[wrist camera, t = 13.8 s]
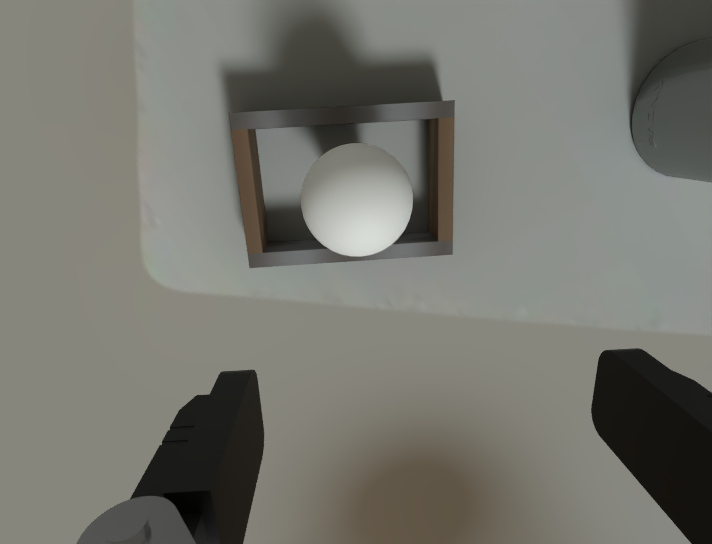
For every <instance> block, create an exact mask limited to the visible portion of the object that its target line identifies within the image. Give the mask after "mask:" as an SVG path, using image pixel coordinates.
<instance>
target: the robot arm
mask: <svg viewBox="0 0 712 544" xmlns="http://www.w3.org/2000/svg"><path fill="white" fill-rule="evenodd" d="M632 133H633V139H634V143H635V146H636V148H637V150H638V153H639V155H640V156H641V157H642V159H643V160H644V161H645V163H646V164H647V165H649V166H650V167H651V168H652V169H654V170H655V171H657V172H659V173H661V174H664V175H666V176H671V177H678V178H685V179H691V180H698V181H705V182H712V38H708V39H704V40H700V41H696V42H692V43H689V44H686V45H684V46H682V47H681V48H679V49H677V50H675V51H673V52H672V53H671V54H669V55H668V56H667V57H665V58H664V59H663V60H661V62H660V63H659V64H658V65H657V66H656V67H655V68H654V69H653V70H652V71H651V73H650V74H649V76H648V77H647V79H646V80H645V82H644V83H643V85H642V87H641V89H640V92H639V94H638V96H637V99H636V101H635V106H634V110H633V115H632ZM591 413H592V419H593V423H594V426H595V429H596V431H597V432H598V434H599V436H600V437H601V438H602V439H603V440H604V442H605V443H606V444H607V445H608V446H609V447H610V449H611V450H612V451H613V452H614V453H615V455H616V456H617V457H618V458H619V459H620V460H621V462H622V463H623V464H624V465H625V466H626V467H627V469H629V471H630V472H631V473H632V474H633V476H634V477H635V478H636V479H637V480H638V481H639V483H640V484H641V485H642V486H643V487H644V488H645V490H646V491H647V492H648V493H649V494H650V495H651V497H652V498H653V499H654V500H655V501H656V502H657V504H658V505H659V506H660V507H661V508H662V510H663V511H664V512H665V513H666V514H667V515H668V517H669V518H670V519H671V520H672V521H673V522H674V524H676V526H677V527H678V528H679V529H680V531H681V532H682V533H683V534H684V535H685V536H686V538H687V539H688V540H689V541H690V542H691V543H692V544H712V393H711V392H710V391H708V390H707V389H705V388H704V387H702V386H701V385H700V384H698V383H697V382H696V381H694V380H692V379H690V378H688V377H685V376H683V375H681V374H679V373H677V372H674V371H672V370H670V369H669V368H667V367H666V366H665V365H663V364H662V363H660V362H659V361H658V360H656V359H655V358H654V357H652V356H651V355H650V354H648V353H647V352H645V351H644V350H642V349H638V348H637V349H618V350H605V351H603V352H602V353H601V355H600V357H599V361H598V367H597V374H596V380H595V387H594V394H593V401H592V408H591ZM263 449H264V427H263V420H262V411H261V403H260V395H259V388H258V380H257V374H256V372H255V370H241V371H224V372H221V373H220V374H219V376H218V378H217V380H216V382H215V385H214V387H213V389H212V391H211V393H210V395H197V396H195V397H194V398H193V399H192V400H191V401H190V402H188V403H187V404H186V405H185V406H184V407H182V409H180V410H179V412H178V414H177V415H176V417H175V419H174V421H173V423H172V424H171V426H170V430H169V431H168V432H167V433H166V435H165V437H164V439H163V441H162V445H160V446H159V448H158V450H157V451H156V453H155V455H154V457H153V459H152V460H151V462H150V464H149V466H148V468H147V469H146V471H145V473H144V475H143V477H142V479H141V480H140V482H139V484H138V486H137V487H136V489H135V491H134V493H133V495H132V497H131V498H130V500H127V501H124V502H122V503H120V504H118V505H116V506H114V507H112V508H110V509H109V510H107V511H106V512H104V513H103V514H101V515H100V516H99V517H98V518H96V519H95V520H94V521H93V522H92V523H91V524H90V525H89V526H88V527H87V528H86V530H85V531H84V532H83V533H82V535H81V537H80V538H79V540H78V542H77V544H243V541H244V537H245V532H246V528H247V523H248V518H249V514H250V510H251V505H252V501H253V496H254V492H255V488H256V483H257V479H258V474H259V470H260V465H261V460H262V456H263Z"/></svg>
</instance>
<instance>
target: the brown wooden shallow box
mask: <svg viewBox="0 0 712 544" xmlns="http://www.w3.org/2000/svg"><path fill="white" fill-rule="evenodd" d="M454 105H455V100H451V101H433V102H415V103H397V104H379V105H361V106H343V107H325V108H307V109H289V110H271V111H253V112H235V113H229V118H230V126H231V133H232V141H233V148H234V156H235V163H236V170H237V178H238V185H239V193H240V200H241V207H242V215H243V222H244V230H245V237H246V245H247V252H248V259H249V267H250V268H257V267H272V266H287V265H302V264H317V263H332V262H347V261H362V260H377V259H392V258H407V257H423V256H438V255H452V251H453V178H454ZM424 119H429V232H419V233H404V234H401V236H400V237H399V238H398V239H397V240H396V241H395V242H394V243H393V244H392V245H390V246H389V247H387V248H386V249H384V250H382V251H380V252H378V253H375V254H373V255H367V256H347V255H341V254H339V253H336V252H334V251H332V250H330V249H328V248H327V247H325V246H324V245H322V244H321V243H320V242H319V241H318V240H317V239H311V240H295V241H280V242H269V241H268V232H267V224H266V215H265V207H264V198H263V190H262V182H261V173H260V165H259V156H258V148H257V139H256V131H255V129H265V128H283V127H301V126H318V125H336V124H354V123H371V122H389V121H407V120H424Z"/></svg>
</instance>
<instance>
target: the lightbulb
mask: <svg viewBox="0 0 712 544" xmlns="http://www.w3.org/2000/svg"><path fill="white" fill-rule="evenodd" d="M412 207H413V193H412V186H411V183H410V180H409V177H408V175H407V173H406V171H405V170H404V168H403V166H402V165H401V164H400V163H399V162H398V161H397V160H396V158H395V157H393V156H392V155H391V154H389V153H388V152H386V151H385V150H383V149H380V148H378V147H376V146H373V145H369V144H364V143H350V144H345V145H340V146H338V147H336V148H333V149H331V150H329V151H328V152H326V153H325V154H323V155H322V156H321V157H320V158H319V159H318V160H317V161H316V162H315V163H314V164H313V165H312V167H311V169H310V170H309V172H308V173H307V175H306V178H305V180H304V183H303V186H302V192H301V209H302V213H303V218H304V220H305V222H306V224H307V227H308V228H309V230H310V231H311V233H312V234H313V236H314V237H315V238H316V239H317V240H318V241H319V242H320V243H321V244H322V245H324V246H325V247H327V248H328V249H330V250H332V251H334V252H336V253H339V254H341V255H347V256H367V255H373V254H375V253H378V252H380V251H382V250H384V249H386V248H387V247H389V246H390V245H392V244H393V243H394V242H395V241H396V240H397V239H398V238H399V237H400V236H401V234H402V233H403V231H404V230H405V228H406V226H407V224H408V222H409V220H410V216H411V212H412Z"/></svg>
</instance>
